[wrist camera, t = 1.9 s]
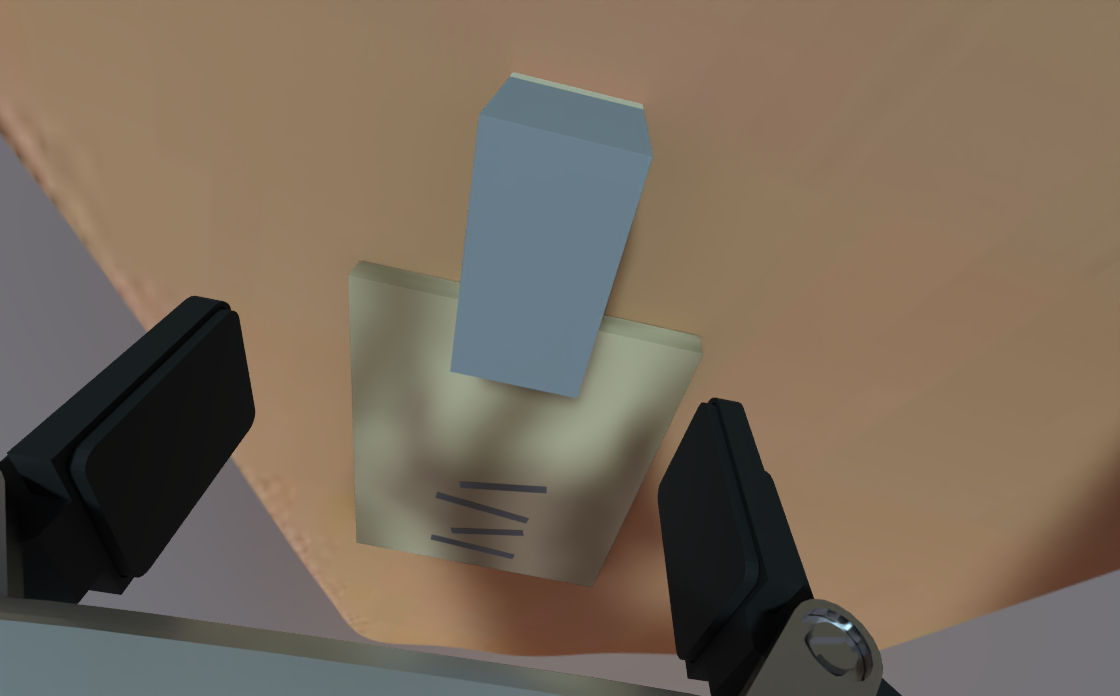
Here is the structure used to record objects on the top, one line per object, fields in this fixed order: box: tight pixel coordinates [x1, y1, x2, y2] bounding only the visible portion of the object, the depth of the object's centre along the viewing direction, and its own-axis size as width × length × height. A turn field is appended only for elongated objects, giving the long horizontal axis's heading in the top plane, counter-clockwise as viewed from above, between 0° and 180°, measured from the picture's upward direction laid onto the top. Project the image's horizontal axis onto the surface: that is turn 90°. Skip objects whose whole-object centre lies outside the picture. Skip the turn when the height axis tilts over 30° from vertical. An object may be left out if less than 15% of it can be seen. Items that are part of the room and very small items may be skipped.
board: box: [348, 261, 703, 587], centre depth 27 cm, size 14×18×1 cm
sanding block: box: [450, 72, 653, 398], centre depth 17 cm, size 4×8×6 cm, turn 168°
